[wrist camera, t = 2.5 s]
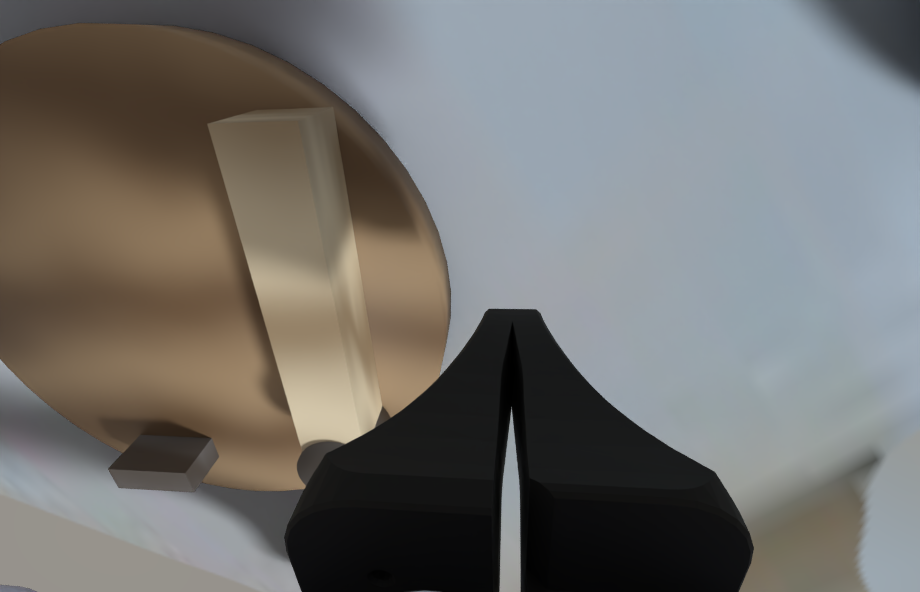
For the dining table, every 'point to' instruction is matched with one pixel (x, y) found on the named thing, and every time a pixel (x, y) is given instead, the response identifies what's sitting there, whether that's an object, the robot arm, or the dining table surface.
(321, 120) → the hinged leg
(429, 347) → the stool seat
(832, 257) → the dining table surface
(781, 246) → the dining table surface
